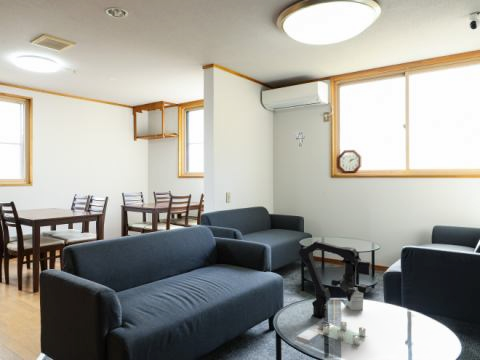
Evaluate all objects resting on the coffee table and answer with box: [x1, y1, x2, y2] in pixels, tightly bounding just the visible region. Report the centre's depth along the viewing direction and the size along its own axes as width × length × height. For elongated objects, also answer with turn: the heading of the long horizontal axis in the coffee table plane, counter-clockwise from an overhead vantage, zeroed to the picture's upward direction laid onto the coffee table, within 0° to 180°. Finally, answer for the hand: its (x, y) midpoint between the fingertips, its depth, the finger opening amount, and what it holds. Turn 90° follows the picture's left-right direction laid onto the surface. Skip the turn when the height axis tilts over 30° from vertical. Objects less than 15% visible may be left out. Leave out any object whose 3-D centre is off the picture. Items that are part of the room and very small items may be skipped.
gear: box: [318, 320, 330, 331], centre depth 172 cm, size 6×6×3 cm
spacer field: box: [323, 321, 366, 347], centre depth 166 cm, size 18×13×4 cm
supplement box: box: [345, 288, 364, 311], centre depth 202 cm, size 7×7×13 cm
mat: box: [313, 323, 368, 346], centre depth 167 cm, size 22×13×1 cm, turn 50°
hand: (349, 301), depth 180 cm, fingers closed
